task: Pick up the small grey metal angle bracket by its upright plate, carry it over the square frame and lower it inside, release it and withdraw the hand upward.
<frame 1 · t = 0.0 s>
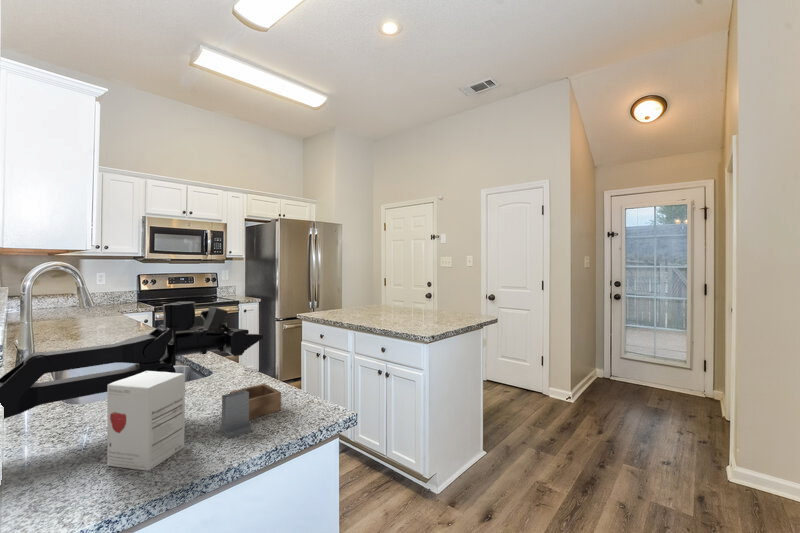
hand: (255, 333, 104), 17 cm above the counter, tool horizontal, fingers open, 9 cm apart
supplement box: (147, 457, 70), on the counter
square frame: (255, 409, 92), on the counter
bracket: (235, 431, 81), on the counter
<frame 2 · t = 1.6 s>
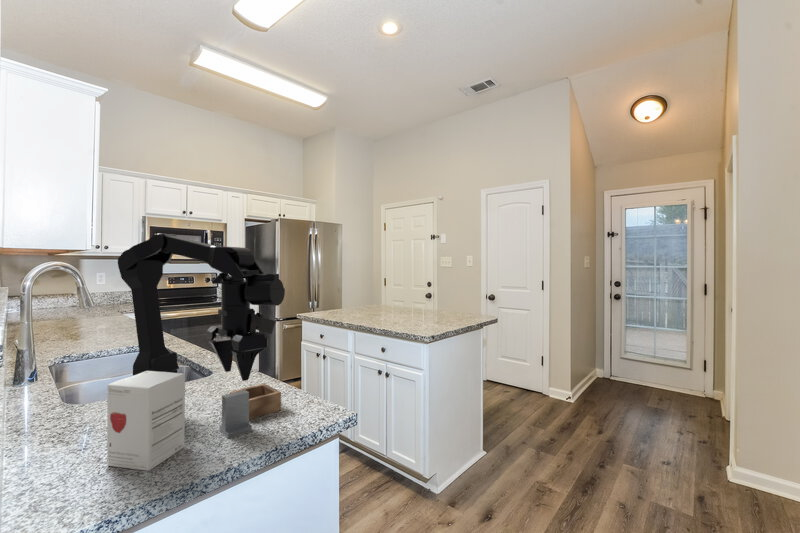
hand: (236, 375, 81), 12 cm above the counter, tool pointing down, fingers open, 9 cm apart
nothing on the counter moved.
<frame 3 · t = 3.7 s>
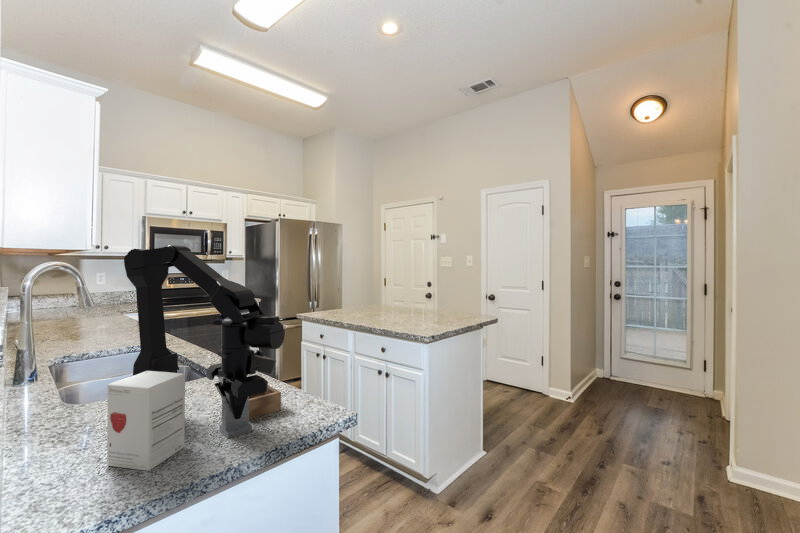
hand: (235, 417, 81), 3 cm above the counter, tool pointing down, fingers closed on bracket
bracket: (235, 430, 81), on the counter, touching gripper
everything else where it was.
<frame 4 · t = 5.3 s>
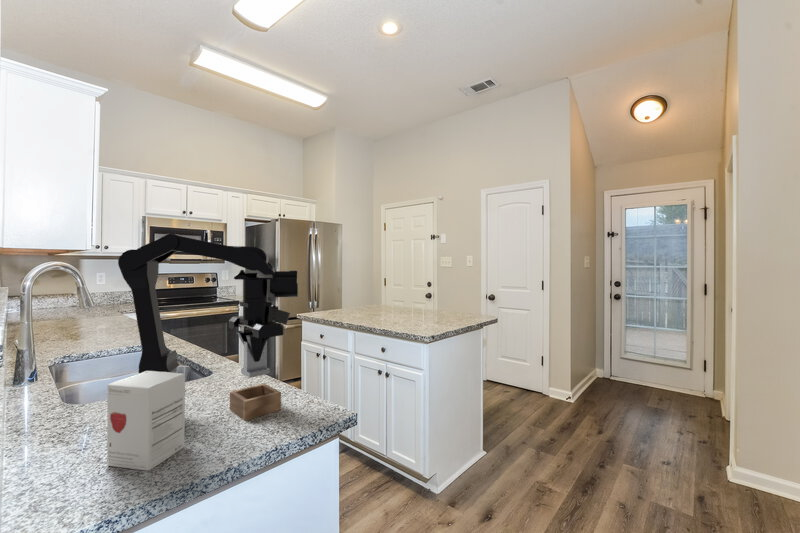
hand: (255, 360, 92), 12 cm above the counter, tool pointing down, fingers closed on bracket
bracket: (255, 373, 92), point 9 cm above the counter, touching gripper
everything else where it was.
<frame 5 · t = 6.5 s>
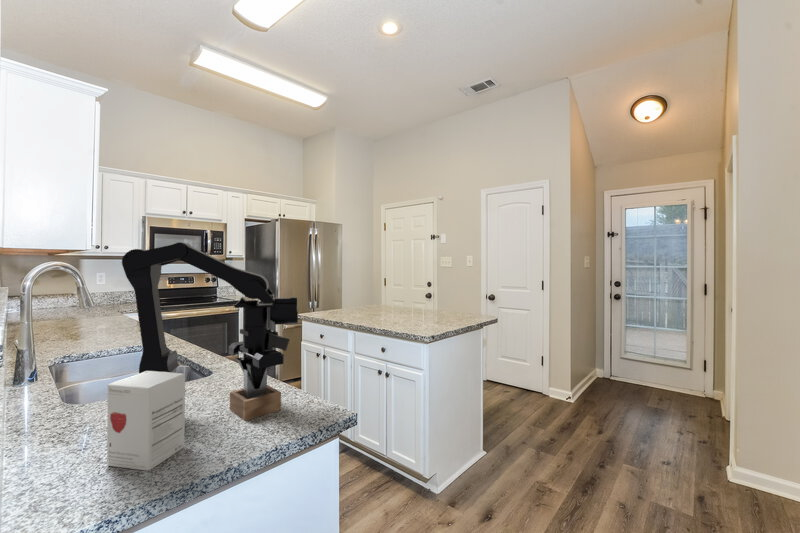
hand: (254, 387, 92), 6 cm above the counter, tool pointing down, fingers closed on bracket
bracket: (255, 400, 92), point 2 cm above the counter, touching gripper
everything else where it was.
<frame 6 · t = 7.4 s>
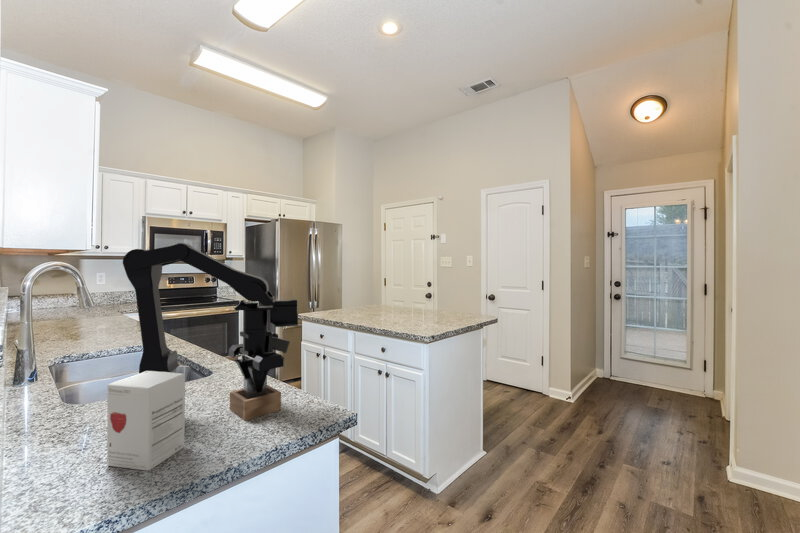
hand: (255, 390, 92), 5 cm above the counter, tool pointing down, fingers open, 4 cm apart
bracket: (255, 410, 92), resting in square frame
everything else where it was.
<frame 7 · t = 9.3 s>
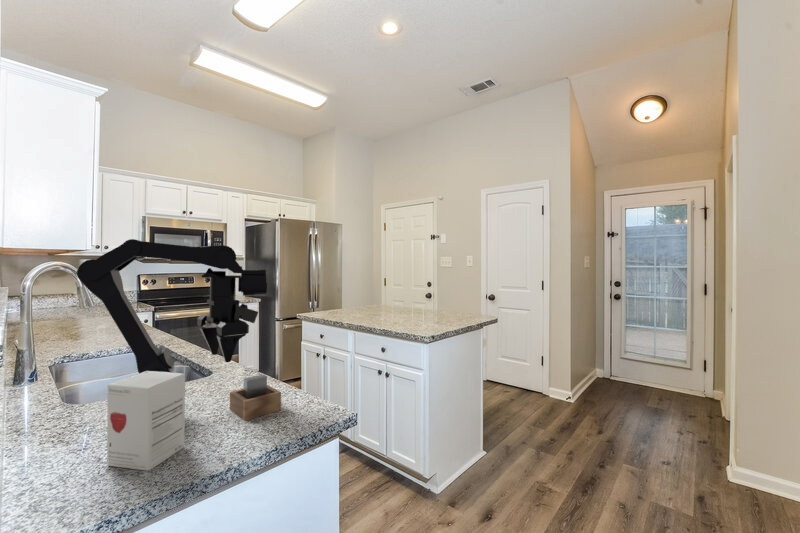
hand: (221, 358, 92), 13 cm above the counter, tool pointing down, fingers open, 9 cm apart
nothing on the counter moved.
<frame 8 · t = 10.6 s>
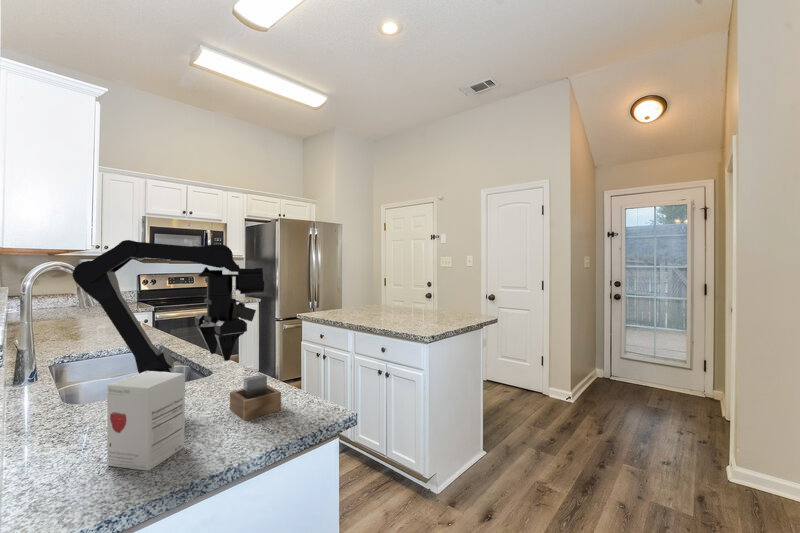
hand: (219, 357, 93), 13 cm above the counter, tool pointing down, fingers open, 9 cm apart
nothing on the counter moved.
at the end: bracket 0.1 cm off-centre on the square frame, point 0.0 cm above the square frame's base; bracket tilted 0°; the gripper is holding nothing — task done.
